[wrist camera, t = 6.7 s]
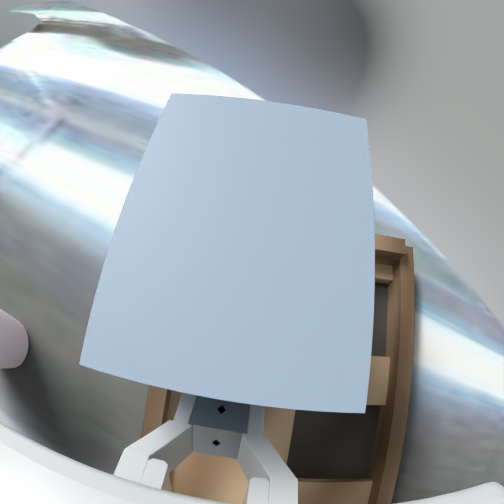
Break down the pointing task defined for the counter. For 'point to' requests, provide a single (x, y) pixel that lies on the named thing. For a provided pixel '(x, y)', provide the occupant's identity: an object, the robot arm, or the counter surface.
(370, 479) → the lane board
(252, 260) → the blue block
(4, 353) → the smoothie
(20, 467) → the robot arm
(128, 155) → the counter surface
